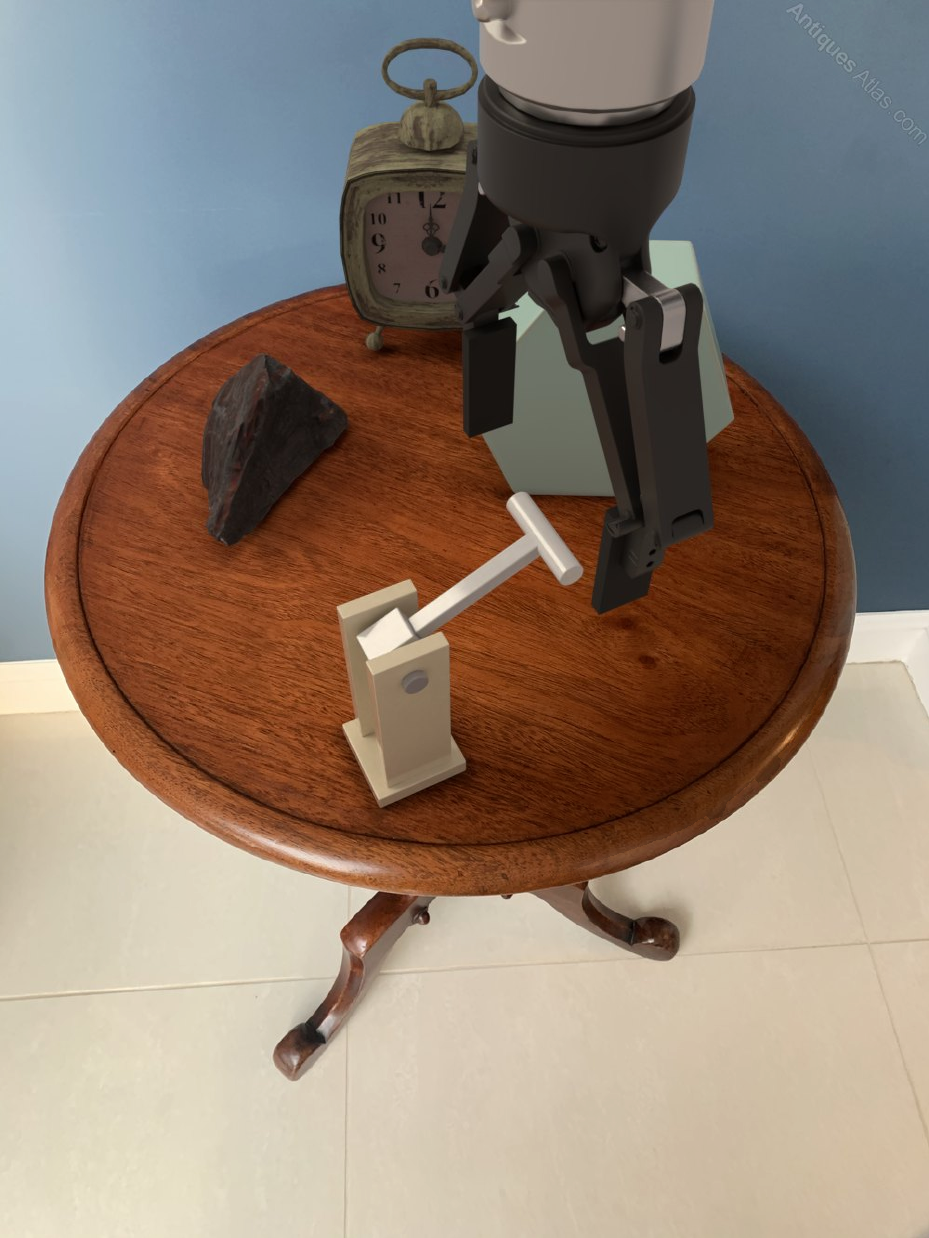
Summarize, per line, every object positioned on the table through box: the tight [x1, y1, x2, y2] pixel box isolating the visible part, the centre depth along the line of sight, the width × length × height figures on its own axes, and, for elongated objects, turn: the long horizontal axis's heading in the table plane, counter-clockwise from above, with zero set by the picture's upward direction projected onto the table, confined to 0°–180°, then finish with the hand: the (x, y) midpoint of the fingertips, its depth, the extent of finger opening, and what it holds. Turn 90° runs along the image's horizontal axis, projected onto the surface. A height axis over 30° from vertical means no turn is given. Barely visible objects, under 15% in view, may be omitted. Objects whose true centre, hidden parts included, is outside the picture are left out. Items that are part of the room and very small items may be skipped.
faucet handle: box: [357, 492, 584, 660], centre depth 53 cm, size 12×6×2 cm, turn 116°
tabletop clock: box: [338, 37, 479, 352], centre depth 79 cm, size 14×9×25 cm, turn 89°
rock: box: [200, 352, 351, 547], centre depth 74 cm, size 7×18×9 cm, turn 152°
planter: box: [481, 239, 735, 497], centre depth 72 cm, size 17×8×21 cm
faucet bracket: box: [336, 578, 467, 809], centre depth 57 cm, size 6×6×14 cm
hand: (548, 507), depth 50 cm, fingers open, 13 cm apart
